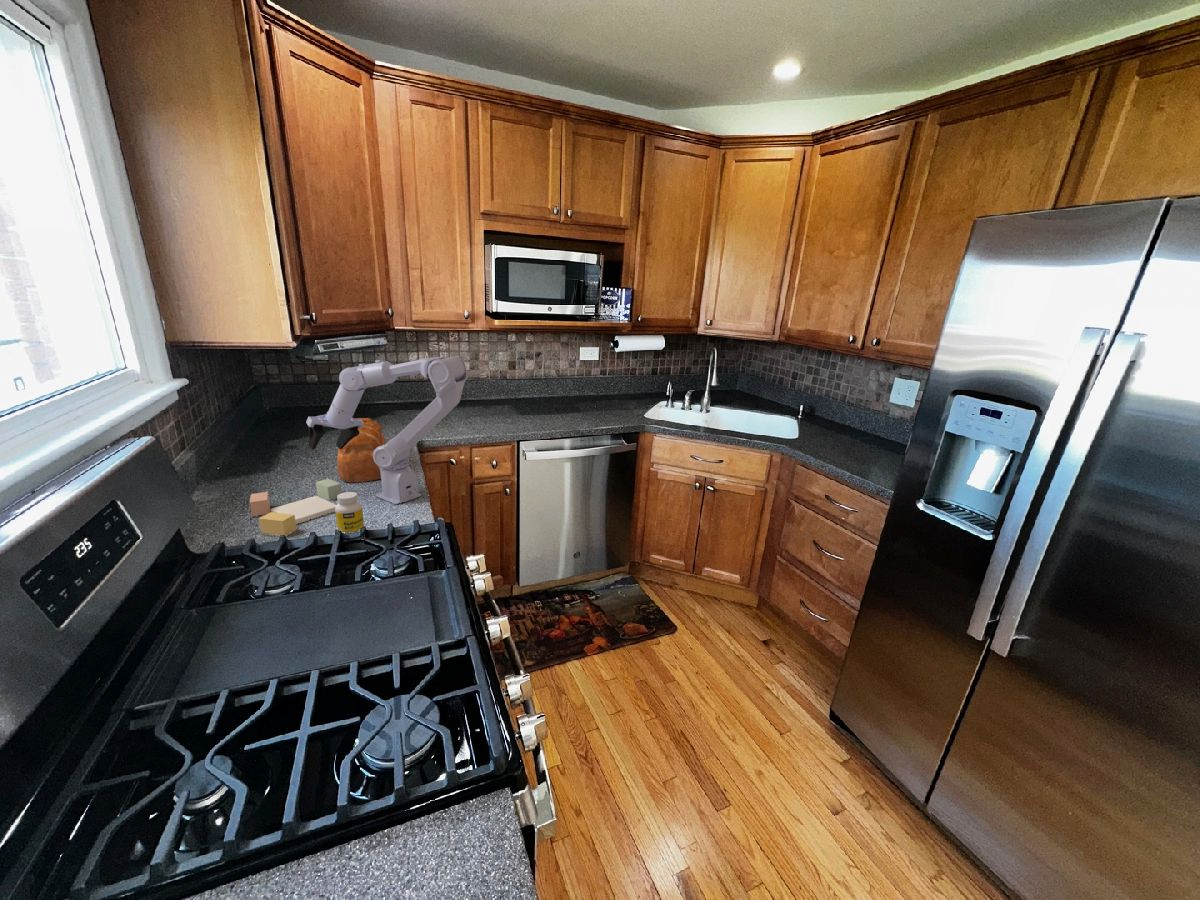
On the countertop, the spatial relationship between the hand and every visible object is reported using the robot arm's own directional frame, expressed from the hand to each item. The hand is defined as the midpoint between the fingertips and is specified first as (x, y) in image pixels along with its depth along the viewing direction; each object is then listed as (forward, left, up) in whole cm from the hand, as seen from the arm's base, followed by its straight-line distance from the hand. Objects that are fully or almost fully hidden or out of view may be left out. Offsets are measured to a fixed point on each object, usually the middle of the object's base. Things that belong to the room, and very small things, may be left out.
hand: (325, 447), depth 129 cm
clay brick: (0, +18, -13) cm, 22 cm away
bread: (+10, -16, -13) cm, 23 cm away
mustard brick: (-16, +20, -13) cm, 29 cm away
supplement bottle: (-30, +11, -13) cm, 34 cm away
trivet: (-9, +11, -13) cm, 19 cm away
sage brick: (-4, +2, -13) cm, 14 cm away
